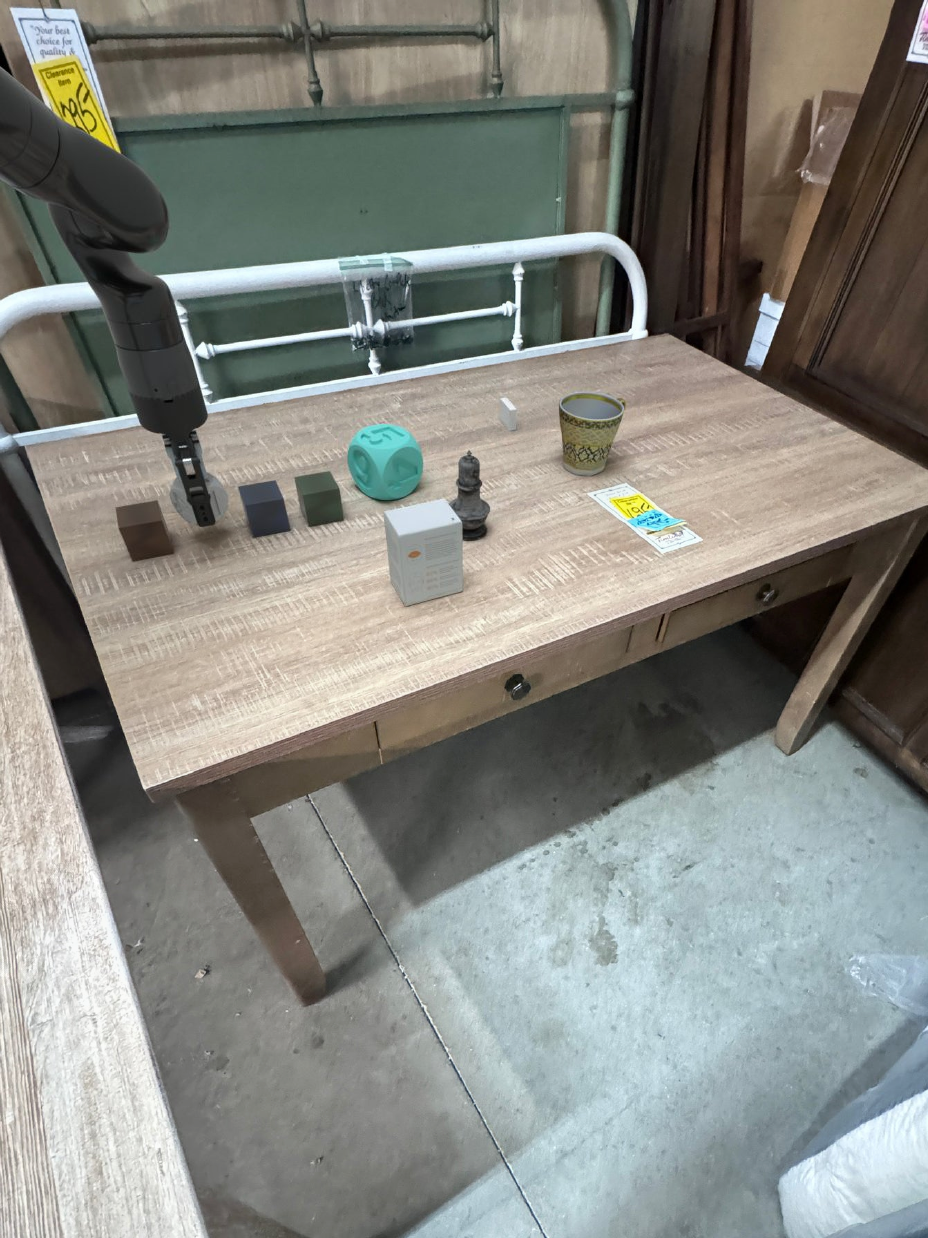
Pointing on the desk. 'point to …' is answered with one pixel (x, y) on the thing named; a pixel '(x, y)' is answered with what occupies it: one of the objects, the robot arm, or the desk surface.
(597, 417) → the ceramic cup
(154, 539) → the row of mixed cubes
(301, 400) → the desk surface
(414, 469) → the decorative dice
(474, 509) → the black chess piece
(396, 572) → the small box
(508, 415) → the eraser
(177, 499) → the die
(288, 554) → the desk surface
